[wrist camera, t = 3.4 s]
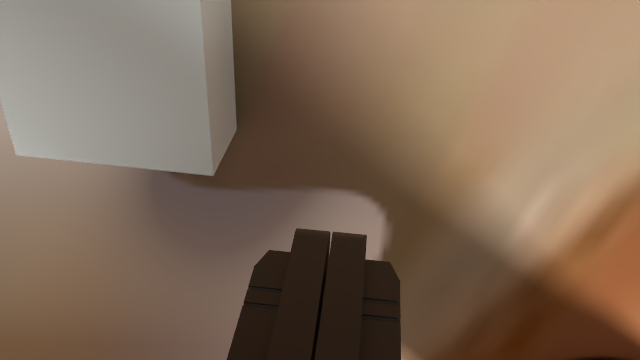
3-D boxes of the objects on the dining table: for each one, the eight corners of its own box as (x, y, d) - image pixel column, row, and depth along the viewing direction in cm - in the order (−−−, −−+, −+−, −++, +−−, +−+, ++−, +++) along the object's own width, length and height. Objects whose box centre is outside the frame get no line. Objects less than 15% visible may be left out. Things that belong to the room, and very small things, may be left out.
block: (230, -67, 21) (196, -41, 18) (238, 126, 25) (213, 175, 22) (21, -82, 21) (-49, -60, 18) (65, 109, 26) (16, 155, 23)
